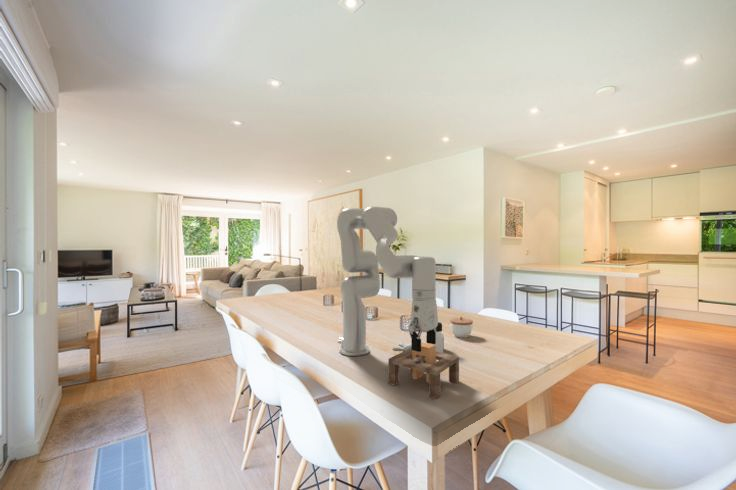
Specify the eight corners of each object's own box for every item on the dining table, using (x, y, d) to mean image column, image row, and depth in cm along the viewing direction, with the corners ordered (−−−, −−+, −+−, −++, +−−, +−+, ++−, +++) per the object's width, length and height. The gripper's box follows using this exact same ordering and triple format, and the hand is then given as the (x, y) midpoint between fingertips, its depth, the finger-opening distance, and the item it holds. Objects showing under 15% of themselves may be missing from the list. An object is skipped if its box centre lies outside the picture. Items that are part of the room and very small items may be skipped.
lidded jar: (475, 339, 153) (475, 319, 153) (453, 339, 154) (453, 319, 154) (468, 332, 164) (468, 314, 164) (447, 332, 164) (447, 314, 164)
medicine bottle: (443, 353, 133) (443, 324, 133) (426, 352, 134) (426, 323, 134) (443, 348, 140) (443, 320, 140) (426, 347, 141) (426, 319, 141)
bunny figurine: (427, 354, 121) (391, 343, 129) (425, 367, 121) (390, 355, 129) (435, 347, 129) (401, 337, 137) (434, 359, 129) (400, 349, 137)
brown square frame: (388, 383, 104) (388, 355, 104) (414, 368, 117) (414, 343, 117) (436, 399, 94) (436, 367, 94) (458, 380, 106) (458, 353, 106)
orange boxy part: (412, 378, 106) (412, 344, 106) (419, 374, 109) (418, 341, 109) (430, 383, 102) (429, 347, 102) (436, 378, 105) (435, 344, 105)
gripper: (420, 299, 96) (420, 356, 96) (446, 292, 110) (446, 342, 110) (399, 296, 101) (399, 351, 101) (426, 290, 114) (426, 338, 114)
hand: (423, 346), depth 105 cm, fingers open, 9 cm apart
